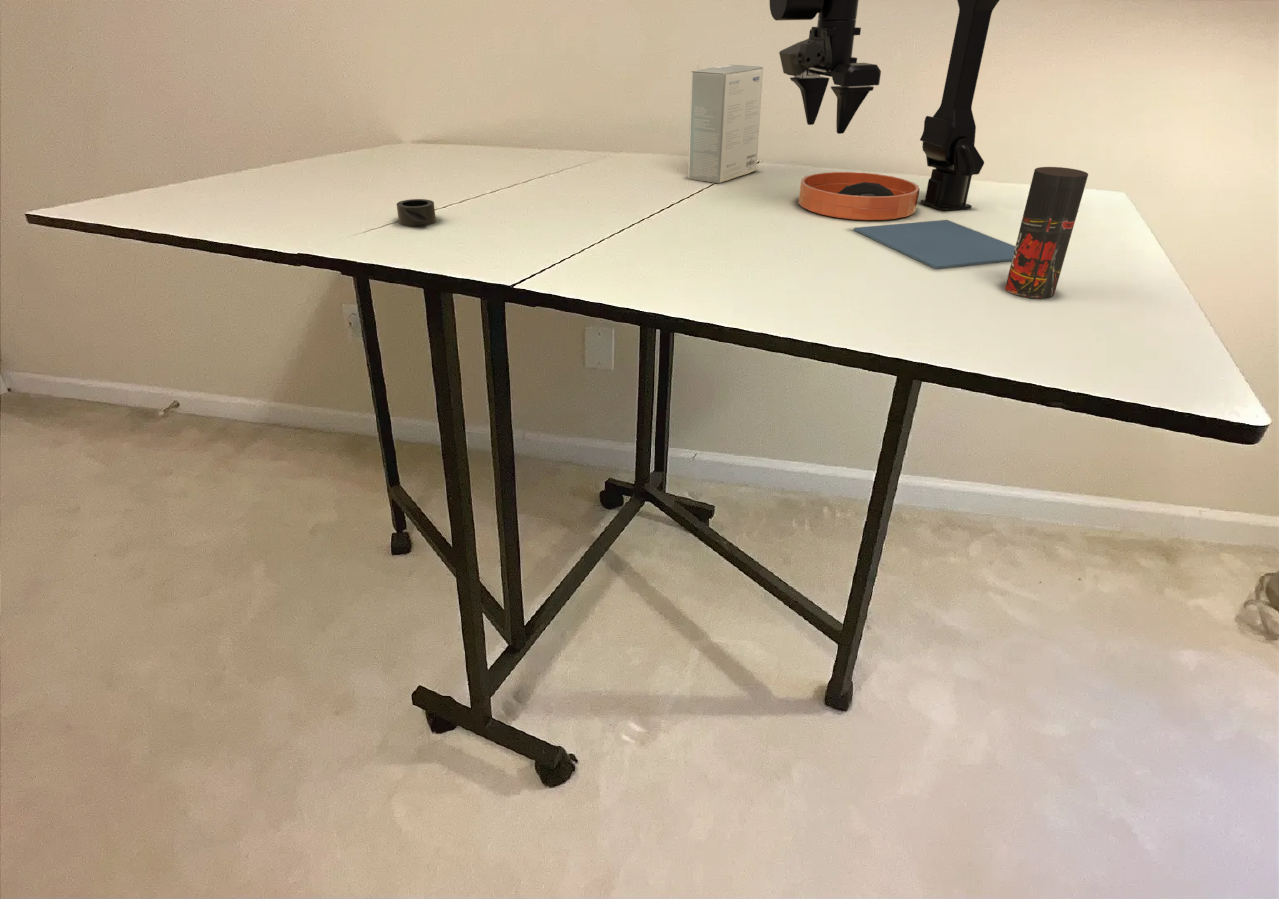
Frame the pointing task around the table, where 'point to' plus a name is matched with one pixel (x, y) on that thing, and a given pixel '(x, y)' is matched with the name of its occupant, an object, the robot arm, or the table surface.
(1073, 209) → the deodorant
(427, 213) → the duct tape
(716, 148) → the hard drive box
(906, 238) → the mouse pad
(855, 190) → the gaming mouse
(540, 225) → the table surface
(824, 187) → the bowl
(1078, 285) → the table surface
